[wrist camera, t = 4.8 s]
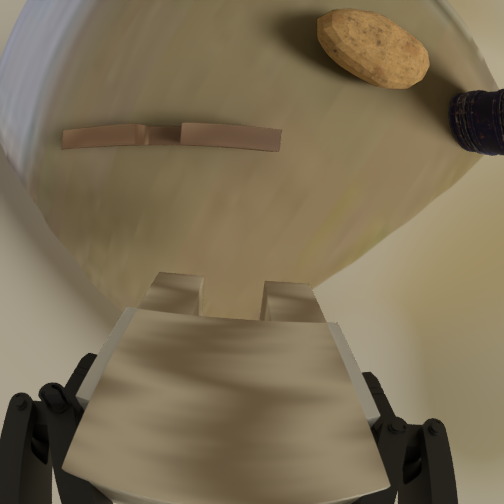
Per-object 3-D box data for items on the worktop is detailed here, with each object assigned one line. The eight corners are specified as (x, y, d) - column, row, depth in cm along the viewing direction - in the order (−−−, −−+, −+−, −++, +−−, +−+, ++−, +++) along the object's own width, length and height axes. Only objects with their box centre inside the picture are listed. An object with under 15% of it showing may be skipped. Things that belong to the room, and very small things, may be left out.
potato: (312, 11, 23) (329, -19, 16) (406, 50, 25) (439, 35, 17) (299, 69, 27) (316, 47, 19) (399, 107, 28) (435, 101, 21)
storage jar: (490, 140, 29) (555, 152, 15) (461, 161, 30) (534, 178, 16) (470, 86, 26) (537, 81, 12) (438, 101, 27) (514, 96, 13)
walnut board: (98, 132, 28) (63, 130, 21) (272, 135, 29) (281, 129, 22) (97, 147, 29) (62, 149, 21) (270, 151, 30) (279, 151, 23)
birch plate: (161, 309, 18) (94, 495, 5) (159, 271, 17) (61, 467, 4) (301, 320, 19) (354, 509, 6) (309, 283, 18) (390, 486, 5)
